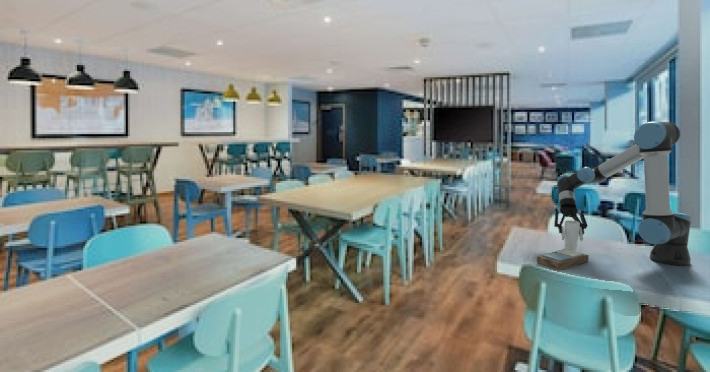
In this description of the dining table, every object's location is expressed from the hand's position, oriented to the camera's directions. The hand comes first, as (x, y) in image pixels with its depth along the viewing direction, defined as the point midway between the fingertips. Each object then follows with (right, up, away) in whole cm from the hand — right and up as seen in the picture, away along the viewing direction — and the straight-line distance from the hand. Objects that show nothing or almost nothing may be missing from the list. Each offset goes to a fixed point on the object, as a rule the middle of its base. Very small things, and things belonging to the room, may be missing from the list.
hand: (572, 239), depth 201 cm
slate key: (-15, -9, -15) cm, 23 cm away
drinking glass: (+1, -7, +4) cm, 8 cm away
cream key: (-7, -8, -10) cm, 14 cm away
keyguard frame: (-11, -9, -12) cm, 19 cm away
